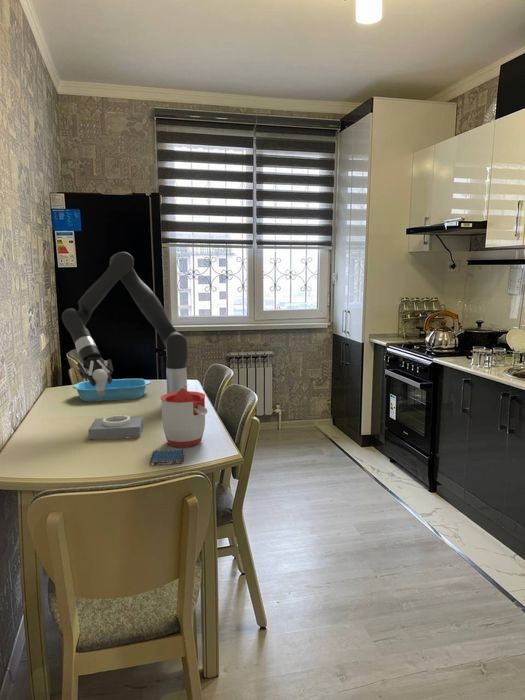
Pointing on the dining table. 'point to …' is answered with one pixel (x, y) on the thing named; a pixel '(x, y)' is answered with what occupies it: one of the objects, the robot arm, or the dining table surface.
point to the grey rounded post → (100, 380)
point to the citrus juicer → (183, 417)
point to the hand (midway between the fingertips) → (102, 383)
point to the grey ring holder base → (116, 427)
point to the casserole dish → (113, 390)
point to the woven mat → (167, 456)
